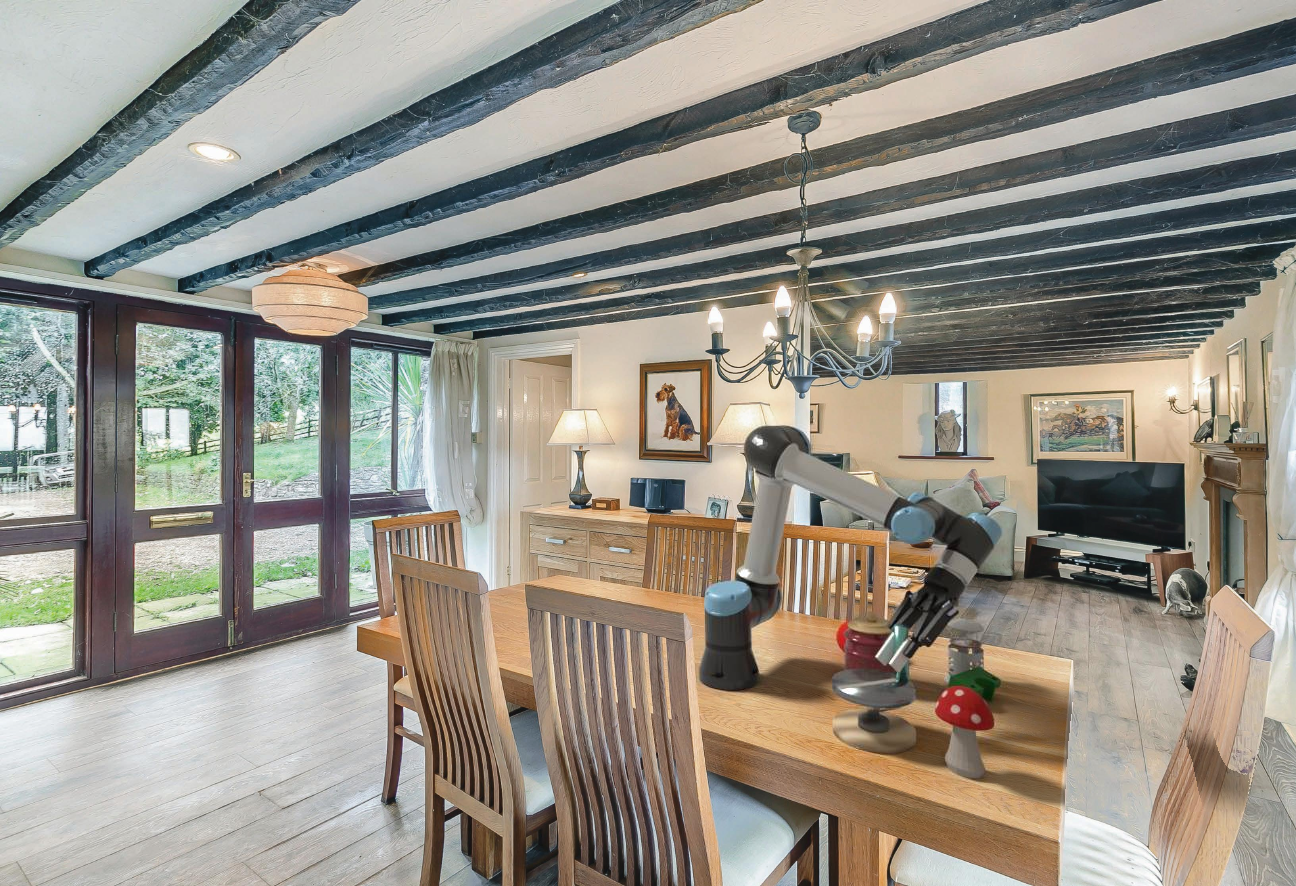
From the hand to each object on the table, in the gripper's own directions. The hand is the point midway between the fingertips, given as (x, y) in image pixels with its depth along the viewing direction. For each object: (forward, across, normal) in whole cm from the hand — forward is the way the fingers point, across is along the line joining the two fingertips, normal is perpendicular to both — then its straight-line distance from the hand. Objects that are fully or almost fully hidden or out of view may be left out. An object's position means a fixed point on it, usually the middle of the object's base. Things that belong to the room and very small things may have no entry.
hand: (887, 664), depth 127 cm
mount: (+12, 0, -7) cm, 14 cm away
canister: (+1, +22, -18) cm, 29 cm away
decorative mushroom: (+8, -17, -12) cm, 22 cm away
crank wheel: (+10, 0, -5) cm, 11 cm away
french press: (-15, +16, -35) cm, 41 cm away
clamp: (-10, +6, -30) cm, 32 cm away
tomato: (-5, +38, -24) cm, 45 cm away
